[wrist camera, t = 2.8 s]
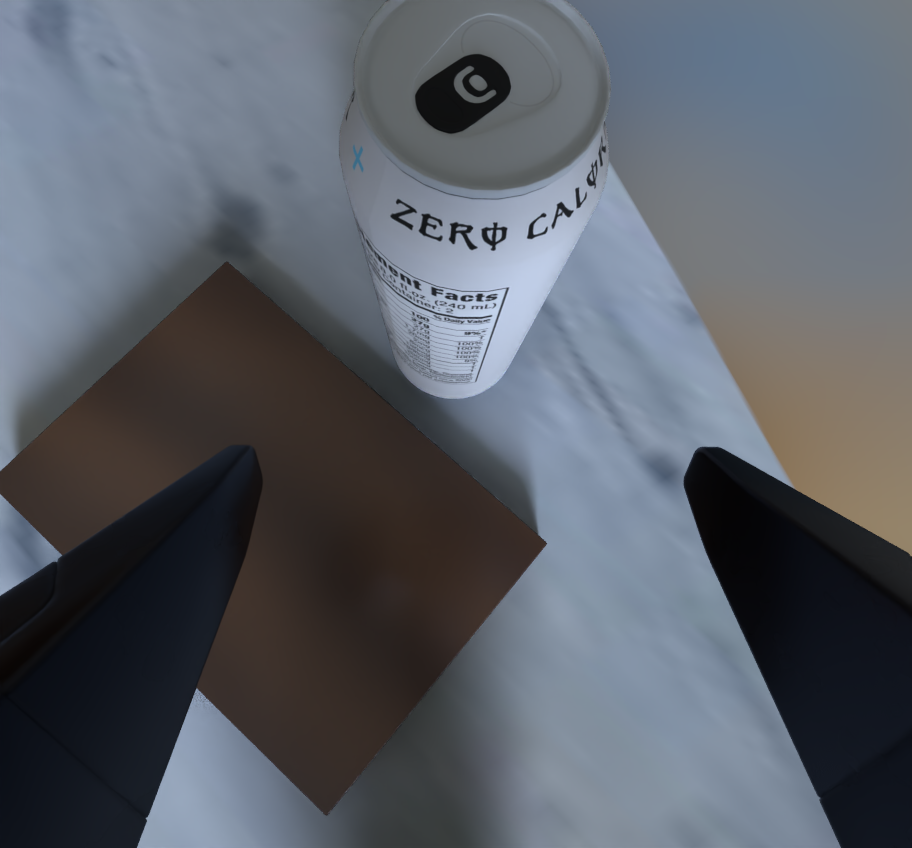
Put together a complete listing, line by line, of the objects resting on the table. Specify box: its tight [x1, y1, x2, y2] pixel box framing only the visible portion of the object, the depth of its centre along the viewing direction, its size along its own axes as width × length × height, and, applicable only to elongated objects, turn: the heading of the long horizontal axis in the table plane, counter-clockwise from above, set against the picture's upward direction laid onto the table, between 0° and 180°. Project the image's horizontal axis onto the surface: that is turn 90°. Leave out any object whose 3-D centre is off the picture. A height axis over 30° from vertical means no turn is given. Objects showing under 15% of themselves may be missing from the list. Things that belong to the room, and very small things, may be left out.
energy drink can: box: [339, 0, 611, 399], centre depth 16 cm, size 6×6×15 cm
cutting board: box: [0, 262, 547, 816], centre depth 21 cm, size 14×20×2 cm
